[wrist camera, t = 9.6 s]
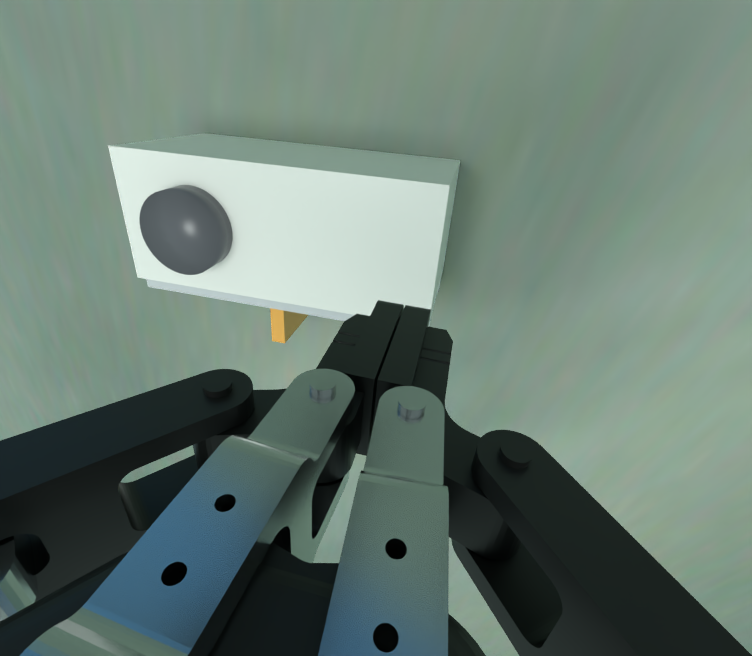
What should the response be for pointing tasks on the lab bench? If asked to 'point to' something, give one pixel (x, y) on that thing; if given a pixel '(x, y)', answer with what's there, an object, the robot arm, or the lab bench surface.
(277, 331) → the side door
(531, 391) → the lab bench surface
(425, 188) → the camera housing
